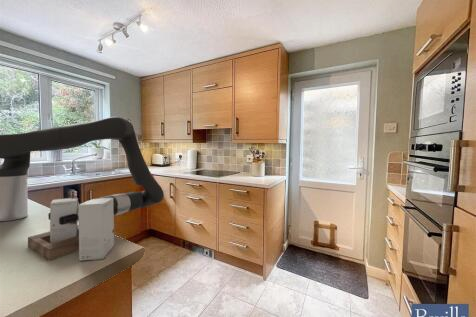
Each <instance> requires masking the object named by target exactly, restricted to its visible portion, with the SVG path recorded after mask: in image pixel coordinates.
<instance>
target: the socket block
mask: <svg viewBox="0 0 476 317" xmlns="http://www.w3.org/2000/svg"><path fill="white" fill-rule="evenodd" d="M27 249H30V250H32V251H33V252H35V253H36V254H38V255H40V256H41V257H43V258H45V259H46V260H48V261H52V260H56V259H58V258H62V257H64V256H65V255H69V254H72V253H74V252H79V224H77V236H75V237H71V238H68V239H65V240H62V241H58V242H55V243H52V244H50V230H49V231H46V232H42V233H38V234H34V235H31V236H28V237H27Z"/></svg>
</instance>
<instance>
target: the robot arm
mask: <svg viewBox="0 0 476 317" xmlns="http://www.w3.org/2000/svg"><path fill="white" fill-rule="evenodd" d="M135 132H136V131H135V128H134V126H133V123H131V121H130V120H128V119H125V118H123V117H120V116H110V117H109V116H108V117H106V118H103V119H99V120H96V121H89V122H85V123H84V122H82V123H74V124H73V123H72V124H66V125H60V126H54V127H53V126H52V127H47V128H44V129H37V130H33V131H32V130H31V131H29V132H21V133H8V134H0V159H1V160H2V159H3V162H2V163H1V165H0V222H9V221H14V220H16V221H17V220H19V219H22V218H23V219H24V218H26V217H27V216H28V215H29V214H28V211H29V210H28V208H29V207H28V204H29V203H28V202H29V201H28V171H29V168H30V164H31V153H32V152H46V151H48V152H49V151H52V152H53V151H59V150H60V151H61V150H67V149H74V148H77V147H78V148H79V147H81V146H84V145H86V144H88V143H90V142H93V141H94V142H95V141H101V140H117V141H118V142H119V143H120V144H121V146H122V148H123V151H124V152H125V153H124V154H125V157H126V161H127V162H126V163H127V166H128V171H129V172H130V176H131V177H132V180H133V181H134V183H135V185H136V186H137V187H143V188H144V190H142V191H130V192H123V193H116V194H110V195H103V196H99V197H97V198H96V199H99V198H113V212H114V217H116V216H118V215H123V214H124V213H127V212H131V211H135V210H137V209H141V208H142V209H143V208H147V207H151V206H154V205H156V204H159V203H161V202H162V201H163V200H164V197H165V196H164V190H163V189H162V187H161V186H160V184H159V182H158V181H157V180H156V179H155V178H154V177H153V176H152V173H151V171H150V169H149V167H148V165H147V162H146V161H145V158H144V155H143V154H142V152H141V151H142V150H141V148H140V146H139V143H138V139H137V136H136V133H135ZM82 203H83V202H81V203H78V205H80V204H82ZM47 216H48V220H49V221H50V212H49V213H48V215H47ZM75 221H76V222H78V223H79V214H78V213H76V214H70V215H66V216H62V217H60V218H59V224H61V225H63V224H67V223H71V222H75Z"/></svg>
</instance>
